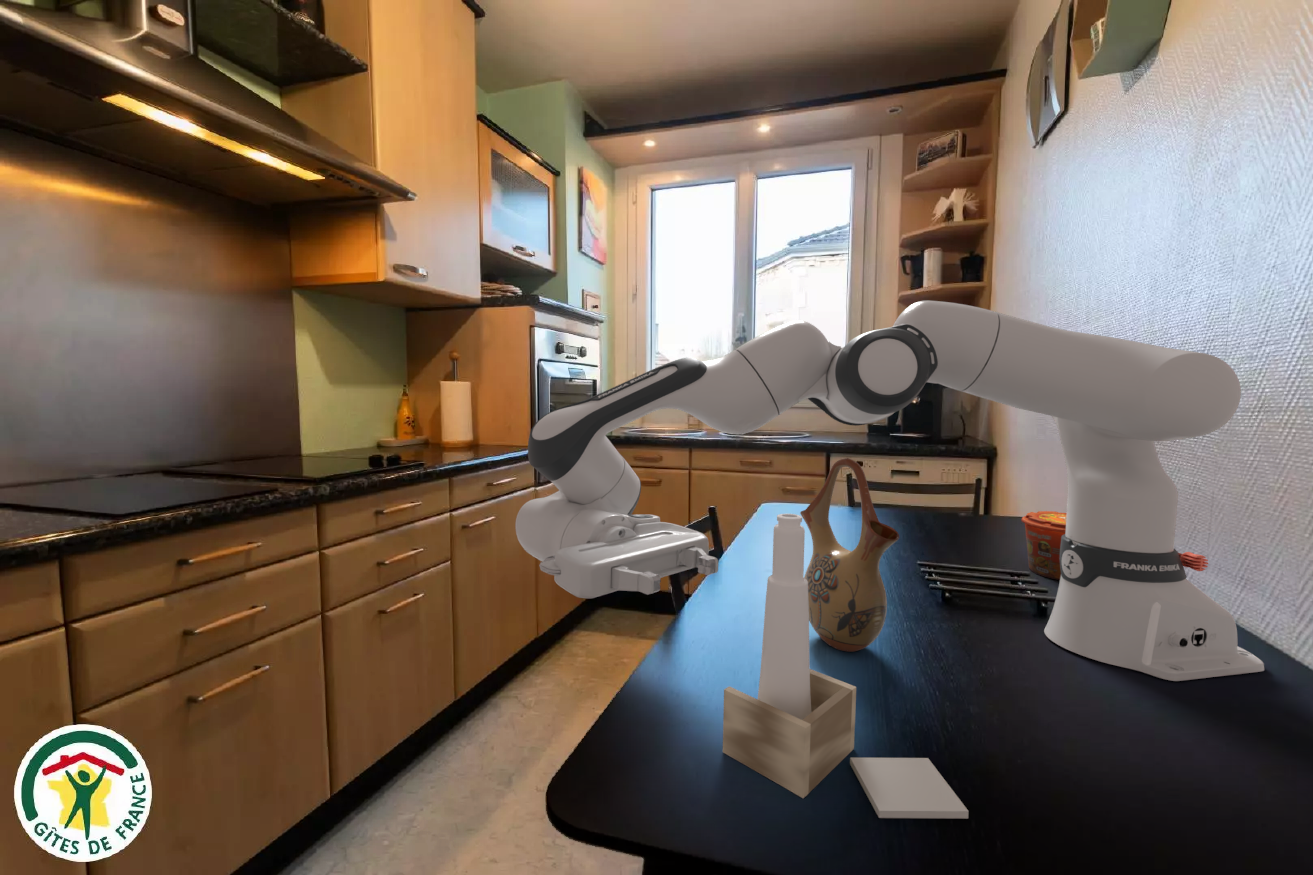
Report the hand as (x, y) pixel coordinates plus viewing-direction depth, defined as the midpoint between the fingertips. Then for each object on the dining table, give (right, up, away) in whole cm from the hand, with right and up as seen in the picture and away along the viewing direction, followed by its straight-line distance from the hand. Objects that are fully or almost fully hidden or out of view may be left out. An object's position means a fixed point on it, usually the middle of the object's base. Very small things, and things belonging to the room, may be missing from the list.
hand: (686, 575), depth 59 cm
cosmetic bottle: (+9, -14, -7) cm, 18 cm away
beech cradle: (+9, -14, -7) cm, 18 cm away
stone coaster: (+18, -15, -13) cm, 26 cm away
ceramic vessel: (+21, -13, +15) cm, 29 cm away
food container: (+75, -11, +46) cm, 89 cm away
